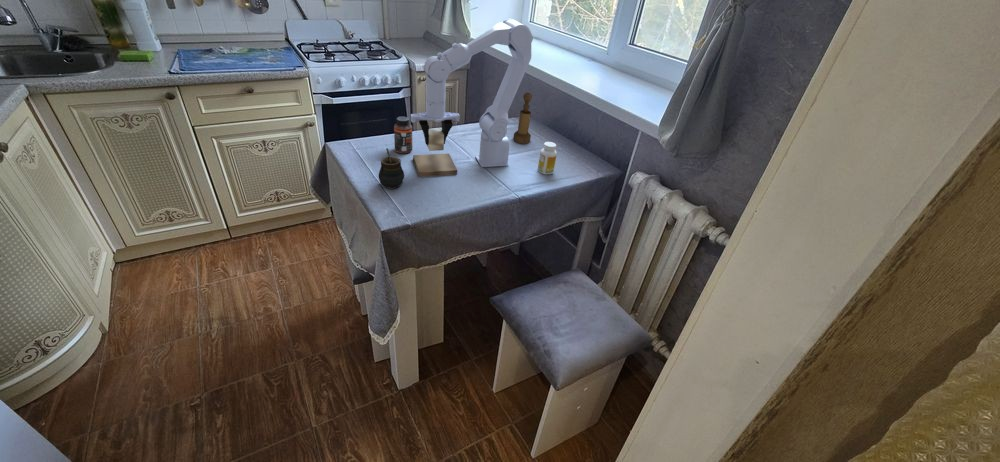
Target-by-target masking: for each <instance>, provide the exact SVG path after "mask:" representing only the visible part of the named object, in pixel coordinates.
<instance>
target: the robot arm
mask: <svg viewBox="0 0 1000 462" xmlns="http://www.w3.org/2000/svg"><path fill="white" fill-rule="evenodd" d="M533 40H534V35H533V33H532V31H531V29H530V28H529V27H528V25H526V24H522V23H520V22H519V21H517V20H516V19H514V18H511V17H508V18H505V19H504V20H503V21H500V22H497V23H495V25H494V26H493V27H491V28H490V29H487V31H485V32H483V33H482V34H480V35H479V36H477V37H476V38H474V39H473V40H471V41H469V42H468V43H466V44H464V43H462V42H459V43H457V42H454V43H453V44H451V47H450V48H448V49H446V50H444V51H443V52H441V51H439V52H437V55H433V56H429V57H428V58H427V59H426V60H425V62H424V64H423V65H422V67H423V71H424V73H425V74H426V76H425V77H426V79H425V80H426V81H425V82H426V83H425V112H420V113H411V114H410V121H411V123H416V122H418V123H419V126H420V128H421V129H422V133H423V137H424V142H425V144H426V145H425V146H427V145H429V137H428V135H429V130H430V125H429V122H435V123H441V131H442V132H443V134H444V145H445V144H446V140H447V138H448V134H449V132H450V130H451V129H452V128H453V122H452V121H455V122H460V114H459V113H458V112H449V111H448V112H446V93H447V92H446V89H447V85H446V83H447V82H446V81H447V79H448V78H449V75H450V74H451V73H453V72H454V71H456V70H458V69H460V68H462V67H464V66H465V65H467V64H469V63H470V62H471V60H472V57H473V56H474V55H476V54H479V53H480V52H482V51H484V50H486V49H489V48H490V47H493V46H495V45H501V46H507V47H508V50H509V51H510V54H511V59H510V61H509V63H508V65H507V69H506V70H505V74H504V75H503V78H502V81H501V83H500V86H499V88H498V90H497V93H496V95H495V97H494V100H493V102H492V105H490V106H488V107H487V108H486V110H485V111H484V113H483V114H482V115H481V116H480V118H479V120H478V121H479V122H478V124H479V128H480V129H481V134H480V141H479V155H475V158H476V160H477V161H478V163H479V165H480V167H481V168H489V167H493V168H494V167H505V166H506V167H508V166H509V156H510V140H509V137H508V136H507V133H508V132H507V131H508V129H507V127H508V124H509V110H510V108H511V105H512V103H513V101H514V99H515V97H516V94H517V92H518V89H519V87H520V85H521V83H522V80H523V78H524V76H525V73H526V71H527V69H528V67H529V65H530V62H531V61H532V44H533Z"/></svg>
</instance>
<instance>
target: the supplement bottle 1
mask: <svg viewBox="0 0 1000 462" xmlns="http://www.w3.org/2000/svg"><path fill="white" fill-rule="evenodd" d="M393 136H394V137H393V138H394V139H393V140H394V141H393V142H394V151H395V152H396V153H399V154H404V155H405V154H409V153H411V152H413V126H412V124H411V123H410V118H409V117H407V116H398V117H396V123H395V124H394V125H393Z"/></svg>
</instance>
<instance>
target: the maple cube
mask: <svg viewBox="0 0 1000 462" xmlns="http://www.w3.org/2000/svg"><path fill="white" fill-rule="evenodd" d="M428 137H429V145H426V146H427V149H428V150H429V152H435V151H444V150H445V149H444V148H445V147H444V146H445V144H444V134H443V132H442V128H441V129H429V135H428Z"/></svg>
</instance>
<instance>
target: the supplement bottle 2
mask: <svg viewBox="0 0 1000 462" xmlns="http://www.w3.org/2000/svg"><path fill="white" fill-rule="evenodd" d="M556 149H557V144H556V143H555V142H552V141H545V142H544V143H543V148H542V149H540V154H539V159H538V165H537V172H539V173H540V174H544V175H551V174H553V173H554V172H555V171H554V170H555V166H556V161H557V156H558V152H557V150H556Z"/></svg>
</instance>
